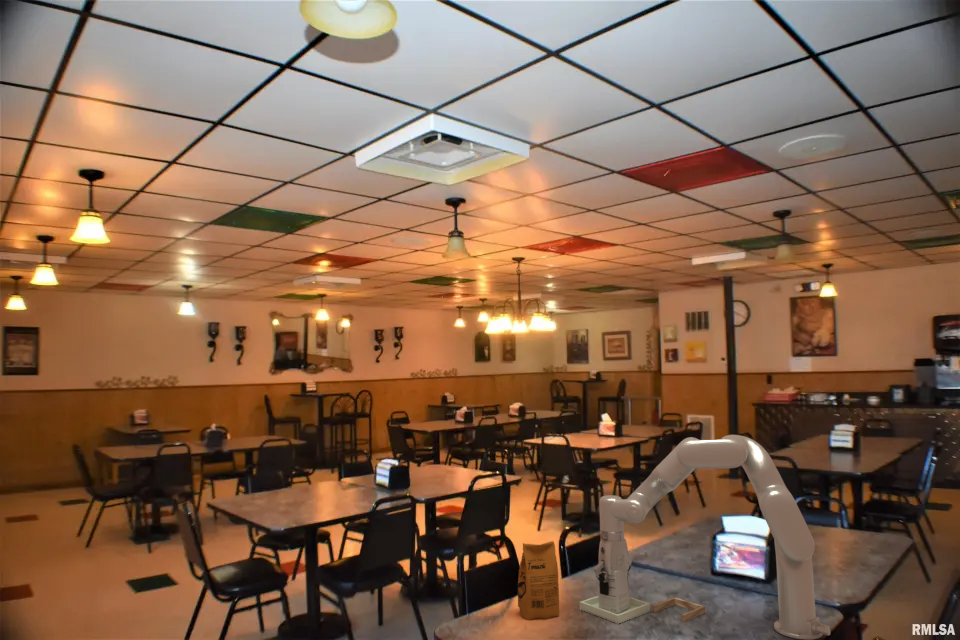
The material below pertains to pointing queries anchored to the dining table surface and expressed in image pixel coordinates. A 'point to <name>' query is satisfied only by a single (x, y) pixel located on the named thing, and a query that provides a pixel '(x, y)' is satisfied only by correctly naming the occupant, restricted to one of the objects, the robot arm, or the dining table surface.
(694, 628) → the dining table surface
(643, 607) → the tray
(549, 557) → the coffee package
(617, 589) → the supplement box
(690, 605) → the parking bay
